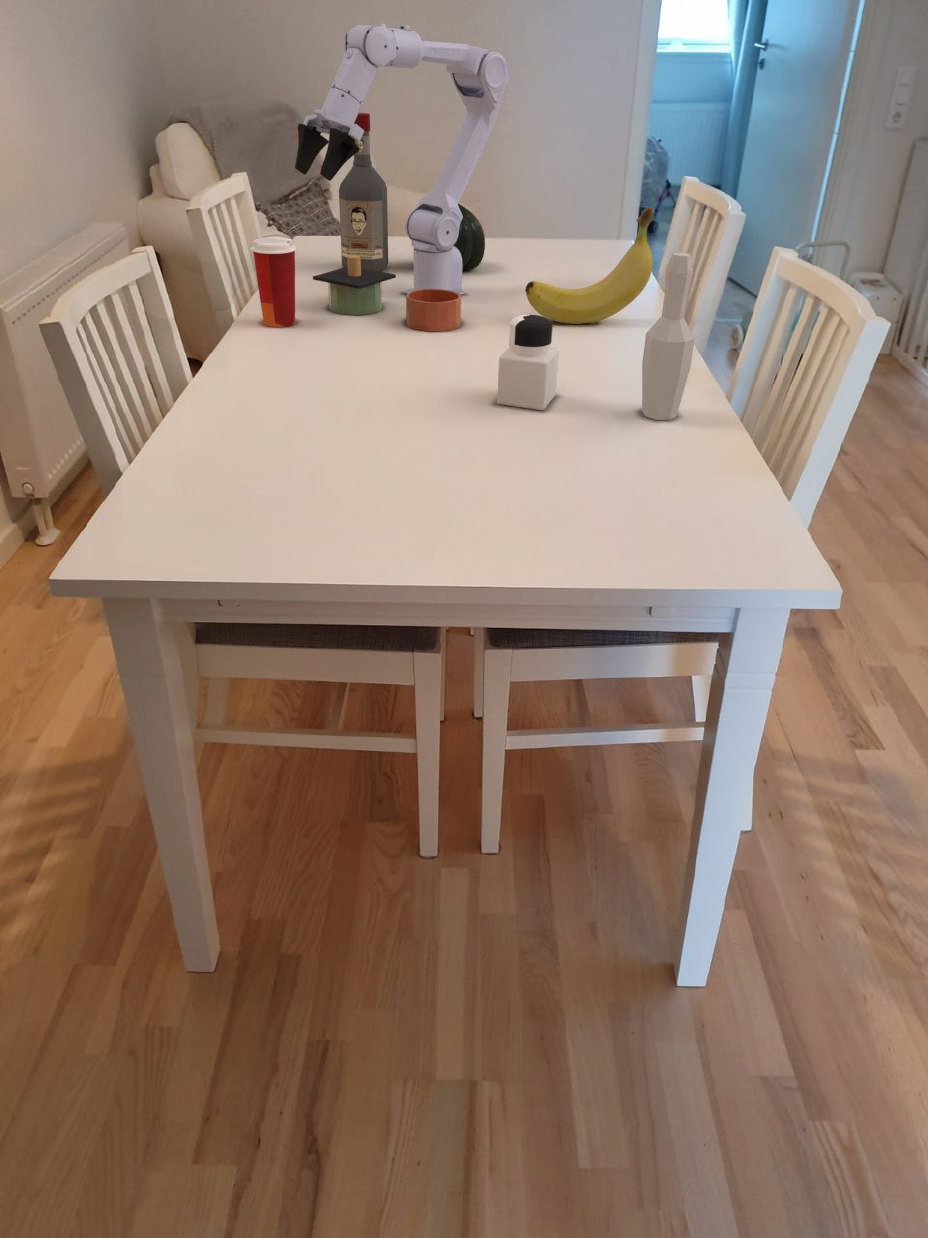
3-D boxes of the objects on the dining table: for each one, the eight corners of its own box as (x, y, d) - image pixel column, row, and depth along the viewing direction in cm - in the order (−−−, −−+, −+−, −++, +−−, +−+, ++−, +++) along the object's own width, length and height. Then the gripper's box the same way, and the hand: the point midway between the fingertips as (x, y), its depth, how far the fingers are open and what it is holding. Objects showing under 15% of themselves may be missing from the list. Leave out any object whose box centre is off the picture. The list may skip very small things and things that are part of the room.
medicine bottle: (556, 395, 143) (562, 314, 137) (543, 411, 138) (549, 327, 131) (510, 389, 145) (514, 308, 139) (496, 404, 140) (499, 321, 133)
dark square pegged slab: (350, 268, 185) (349, 247, 183) (395, 277, 181) (395, 255, 178) (312, 279, 178) (311, 256, 175) (359, 288, 173) (358, 265, 171)
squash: (485, 253, 200) (484, 187, 202) (413, 253, 200) (414, 188, 203) (485, 287, 214) (484, 225, 216) (418, 287, 214) (418, 226, 217)
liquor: (349, 262, 214) (344, 110, 198) (390, 264, 213) (387, 112, 197) (339, 271, 206) (333, 114, 190) (381, 274, 205) (378, 116, 189)
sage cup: (361, 298, 188) (360, 269, 185) (392, 309, 182) (391, 279, 179) (319, 306, 182) (317, 277, 179) (350, 317, 176) (348, 287, 173)
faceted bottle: (654, 424, 134) (677, 261, 123) (628, 410, 139) (647, 251, 127) (690, 418, 137) (716, 257, 125) (663, 404, 142) (685, 247, 130)
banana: (525, 326, 174) (532, 208, 163) (521, 317, 179) (528, 202, 168) (647, 327, 176) (662, 210, 165) (640, 318, 181) (654, 204, 170)
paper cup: (305, 318, 175) (300, 237, 168) (295, 329, 169) (289, 246, 161) (263, 315, 176) (256, 235, 168) (251, 327, 169) (244, 244, 162)
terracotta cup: (436, 313, 180) (437, 286, 177) (471, 325, 174) (472, 297, 171) (395, 322, 175) (395, 293, 172) (430, 334, 168) (430, 305, 166)
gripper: (304, 79, 163) (271, 156, 165) (354, 86, 154) (319, 167, 156) (333, 104, 169) (302, 177, 171) (384, 112, 160) (350, 189, 162)
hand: (312, 174), depth 164 cm, fingers open, 7 cm apart
